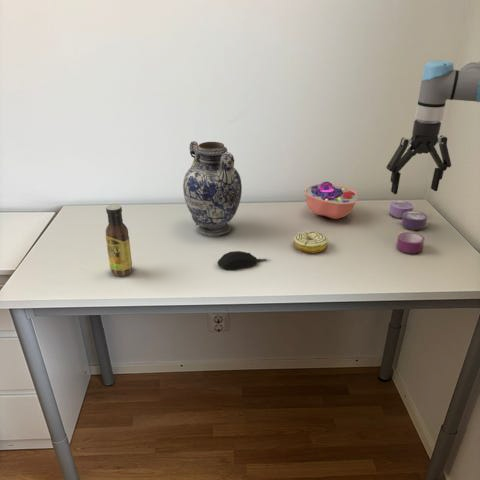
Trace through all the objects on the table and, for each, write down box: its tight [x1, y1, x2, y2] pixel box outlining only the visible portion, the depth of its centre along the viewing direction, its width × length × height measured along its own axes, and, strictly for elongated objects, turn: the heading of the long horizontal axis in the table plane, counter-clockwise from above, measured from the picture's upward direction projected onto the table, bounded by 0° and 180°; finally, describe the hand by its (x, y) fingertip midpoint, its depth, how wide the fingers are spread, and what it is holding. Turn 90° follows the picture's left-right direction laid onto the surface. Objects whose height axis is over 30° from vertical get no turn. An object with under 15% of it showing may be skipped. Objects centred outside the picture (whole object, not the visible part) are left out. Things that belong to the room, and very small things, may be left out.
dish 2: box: [395, 231, 426, 255], centre depth 159 cm, size 8×8×4 cm
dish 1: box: [388, 199, 415, 219], centre depth 181 cm, size 8×8×4 cm
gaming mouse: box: [217, 250, 267, 270], centre depth 151 cm, size 6×15×4 cm, turn 107°
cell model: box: [304, 180, 358, 220], centre depth 179 cm, size 17×20×11 cm
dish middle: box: [400, 210, 429, 231], centre depth 173 cm, size 8×8×4 cm
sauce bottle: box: [105, 203, 133, 277], centre depth 142 cm, size 6×6×20 cm
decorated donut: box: [293, 231, 329, 254], centre depth 160 cm, size 10×11×4 cm
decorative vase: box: [182, 140, 243, 237], centre depth 164 cm, size 21×19×28 cm
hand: (414, 191), depth 161 cm, fingers open, 13 cm apart
